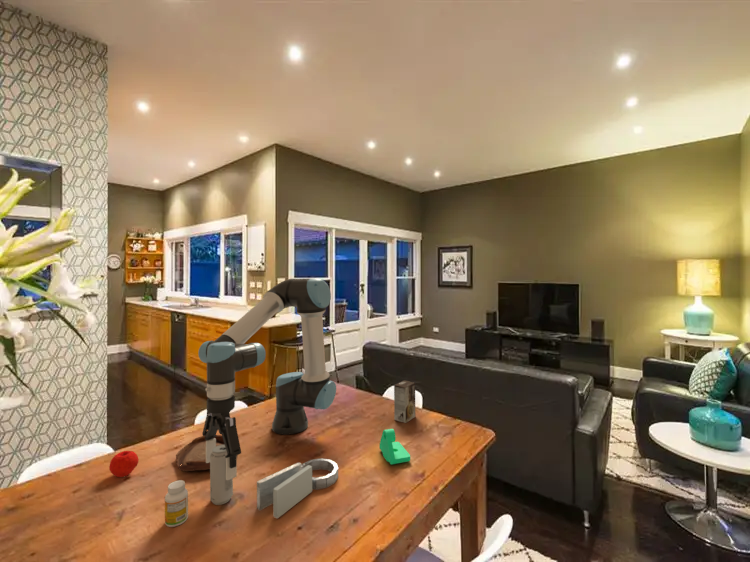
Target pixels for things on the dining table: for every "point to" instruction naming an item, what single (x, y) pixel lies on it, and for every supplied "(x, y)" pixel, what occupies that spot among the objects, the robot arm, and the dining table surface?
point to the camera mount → (392, 448)
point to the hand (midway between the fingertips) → (220, 469)
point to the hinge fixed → (272, 481)
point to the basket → (195, 454)
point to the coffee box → (404, 401)
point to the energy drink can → (219, 477)
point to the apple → (123, 463)
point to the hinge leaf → (292, 491)
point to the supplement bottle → (176, 504)
